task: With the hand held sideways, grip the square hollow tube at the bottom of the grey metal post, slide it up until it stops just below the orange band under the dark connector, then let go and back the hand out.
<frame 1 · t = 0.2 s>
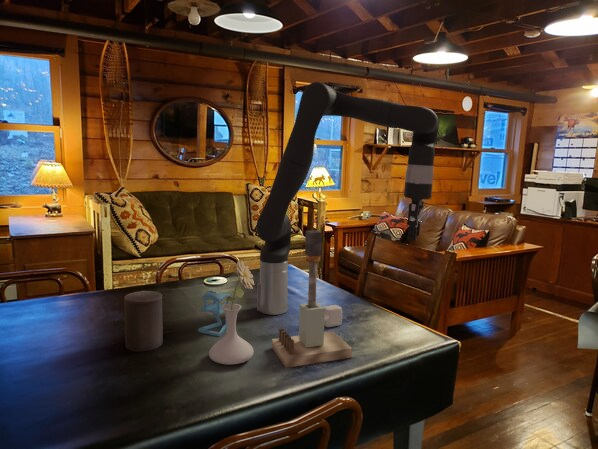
hand: (413, 238, 128), 29 cm above the table, tool pointing down, fingers open, 8 cm apart
square hollow tube: (311, 324, 117), point 8 cm above the table, slide at 0.0 cm
power adapter: (323, 326, 137), on the table
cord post: (310, 352, 118), on the table
chair: (217, 330, 133), on the table
flower in vase: (233, 358, 114), on the table
pillar candle: (144, 344, 121), on the table
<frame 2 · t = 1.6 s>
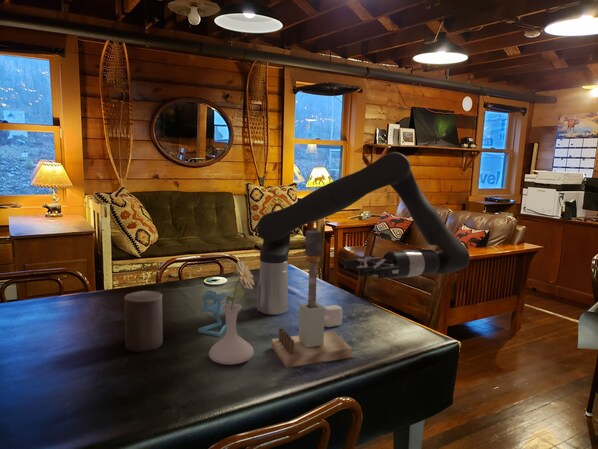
hand: (351, 268, 119), 22 cm above the table, tool horizontal, fingers open, 8 cm apart
nothing on the table moved.
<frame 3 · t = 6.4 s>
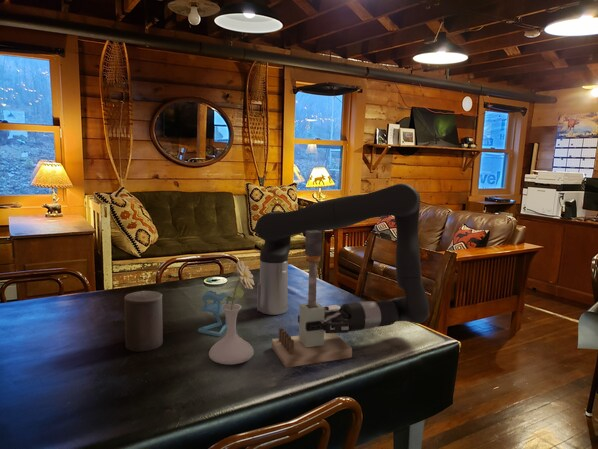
hand: (302, 323, 116), 8 cm above the table, tool horizontal, fingers closed on square hollow tube, 5 cm apart
square hollow tube: (311, 324, 117), point 8 cm above the table, slide at 0.0 cm, touching gripper
everything else where it was.
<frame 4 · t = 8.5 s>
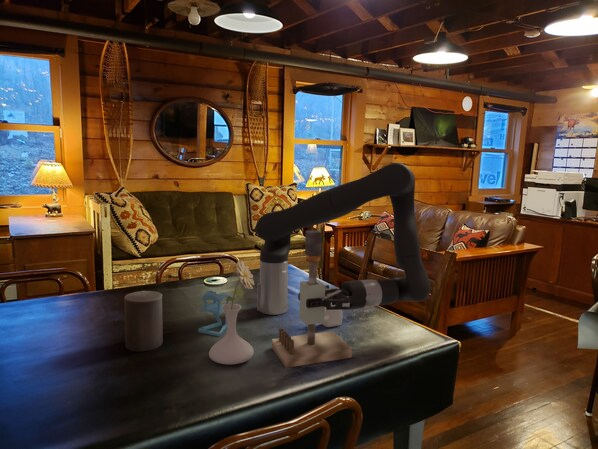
hand: (302, 300, 115), 15 cm above the table, tool horizontal, fingers closed on square hollow tube, 5 cm apart
square hollow tube: (312, 301, 116), point 14 cm above the table, slide at 6.2 cm, touching gripper
everything else where it was.
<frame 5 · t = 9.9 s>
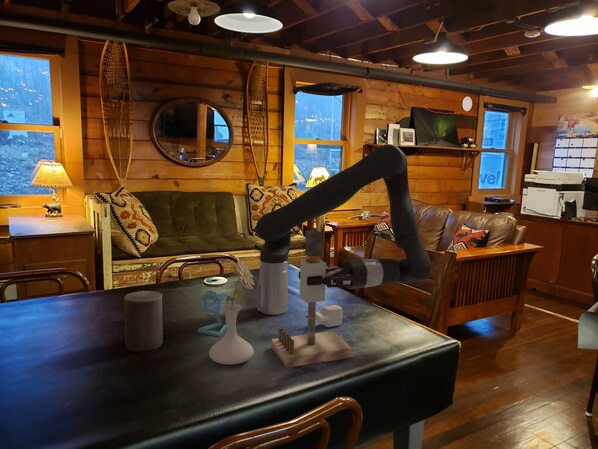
hand: (303, 278, 114), 20 cm above the table, tool horizontal, fingers closed on square hollow tube, 5 cm apart
square hollow tube: (312, 280, 115), point 20 cm above the table, slide at 12.0 cm, touching gripper
everything else where it was.
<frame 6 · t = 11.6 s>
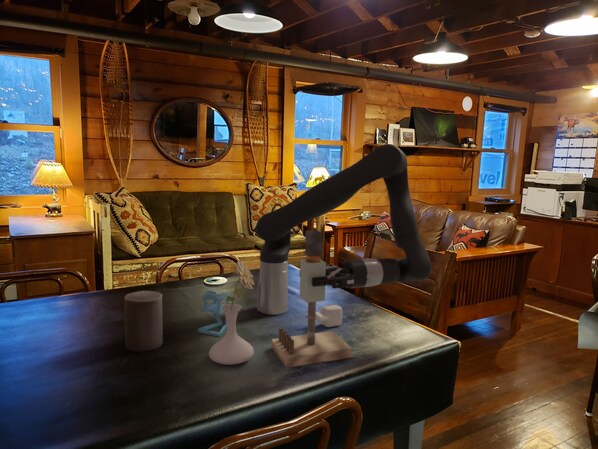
hand: (305, 277, 114), 21 cm above the table, tool horizontal, fingers open, 8 cm apart
square hollow tube: (312, 279, 115), point 20 cm above the table, slide at 12.0 cm
everything else where it was.
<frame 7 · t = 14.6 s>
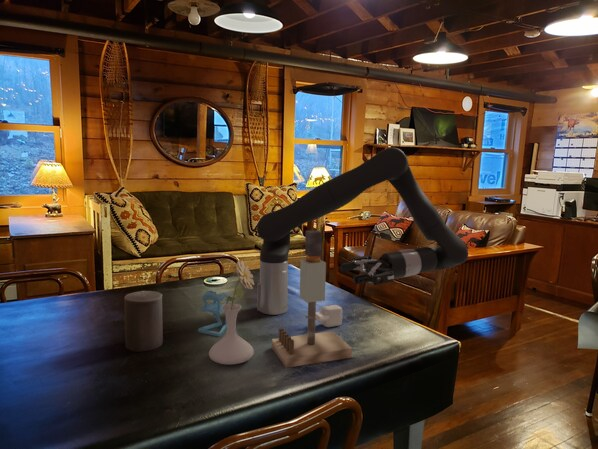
hand: (347, 273, 120), 20 cm above the table, tool horizontal, fingers open, 8 cm apart
nothing on the table moved.
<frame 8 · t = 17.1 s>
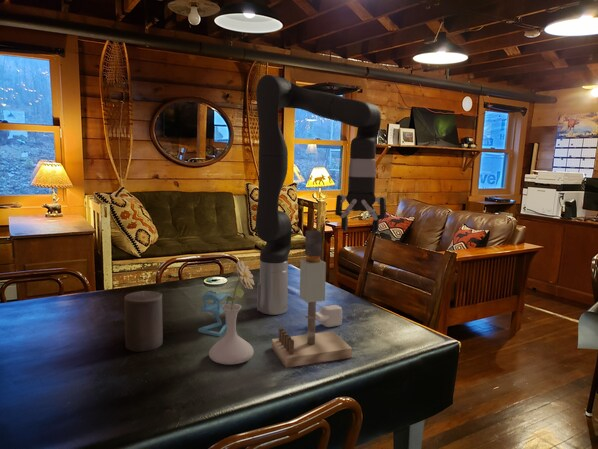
hand: (359, 231, 128), 30 cm above the table, tool pointing down, fingers open, 8 cm apart
nothing on the table moved.
at the end: square hollow tube slide at 12.0 cm; the gripper is holding nothing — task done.
